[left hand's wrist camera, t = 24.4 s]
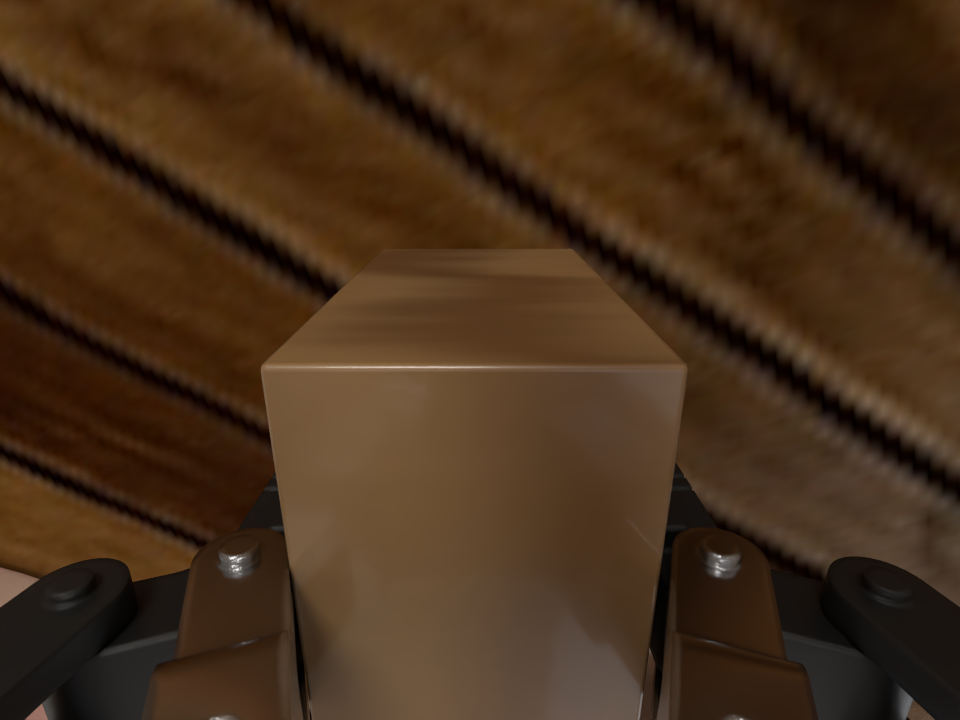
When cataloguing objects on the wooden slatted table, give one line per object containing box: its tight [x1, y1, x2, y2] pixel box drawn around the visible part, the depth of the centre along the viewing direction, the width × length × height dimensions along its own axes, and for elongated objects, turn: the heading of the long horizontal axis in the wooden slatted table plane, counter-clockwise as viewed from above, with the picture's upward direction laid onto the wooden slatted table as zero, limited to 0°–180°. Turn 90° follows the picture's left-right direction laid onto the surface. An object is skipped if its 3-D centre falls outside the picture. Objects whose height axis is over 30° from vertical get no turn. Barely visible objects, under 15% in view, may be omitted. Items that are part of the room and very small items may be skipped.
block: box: [261, 249, 688, 720], centre depth 11 cm, size 5×8×8 cm, turn 0°
